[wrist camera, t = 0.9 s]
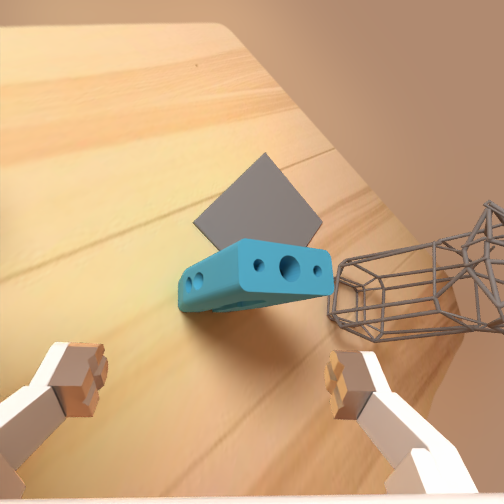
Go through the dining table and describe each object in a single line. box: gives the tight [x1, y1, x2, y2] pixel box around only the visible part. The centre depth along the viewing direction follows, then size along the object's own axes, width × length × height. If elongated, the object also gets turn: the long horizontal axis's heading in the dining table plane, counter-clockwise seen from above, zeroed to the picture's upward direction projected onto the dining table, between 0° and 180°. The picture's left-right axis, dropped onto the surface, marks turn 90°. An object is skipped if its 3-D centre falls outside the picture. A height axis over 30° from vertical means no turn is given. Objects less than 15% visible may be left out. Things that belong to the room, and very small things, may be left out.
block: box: [178, 238, 334, 312], centre depth 40 cm, size 12×5×20 cm, turn 92°
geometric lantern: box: [327, 200, 504, 343], centre depth 50 cm, size 16×16×35 cm
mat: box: [193, 153, 322, 251], centre depth 58 cm, size 18×22×1 cm
